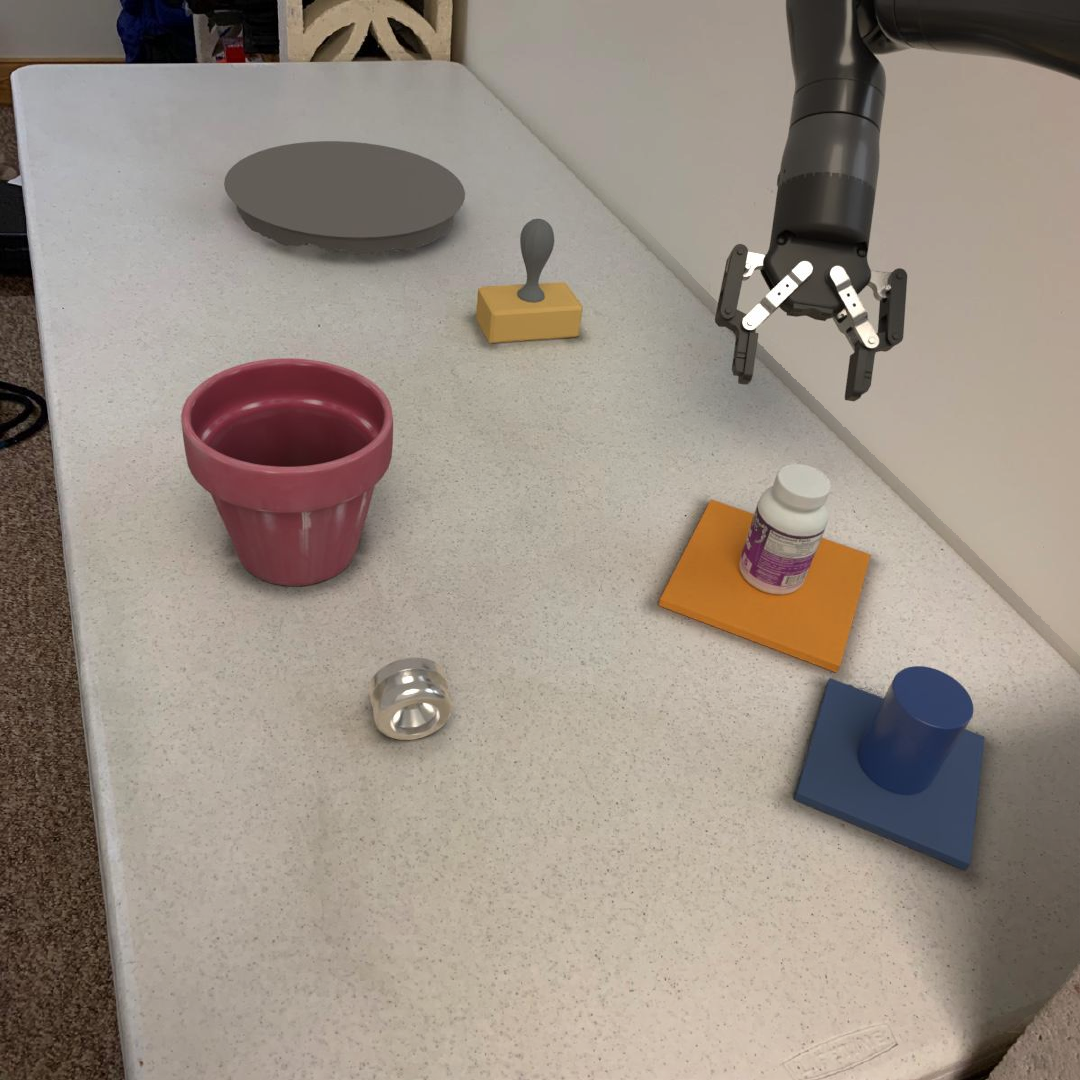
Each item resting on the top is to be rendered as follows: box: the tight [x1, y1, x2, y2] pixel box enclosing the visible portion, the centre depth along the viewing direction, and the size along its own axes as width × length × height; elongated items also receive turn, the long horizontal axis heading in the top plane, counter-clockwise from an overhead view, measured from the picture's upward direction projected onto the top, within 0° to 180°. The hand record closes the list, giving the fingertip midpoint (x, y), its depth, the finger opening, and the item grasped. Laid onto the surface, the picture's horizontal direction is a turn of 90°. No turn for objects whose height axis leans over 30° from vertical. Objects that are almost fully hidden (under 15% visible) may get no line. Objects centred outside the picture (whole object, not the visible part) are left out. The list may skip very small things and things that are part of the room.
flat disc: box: [223, 140, 466, 256], centre depth 119 cm, size 28×28×4 cm
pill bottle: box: [739, 463, 832, 595], centre depth 76 cm, size 5×5×10 cm
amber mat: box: [658, 499, 872, 673], centre depth 79 cm, size 14×14×1 cm
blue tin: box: [858, 665, 974, 795], centre depth 64 cm, size 5×5×7 cm
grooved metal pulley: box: [368, 657, 453, 741], centre depth 64 cm, size 5×3×5 cm, turn 105°
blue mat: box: [793, 677, 985, 871], centre depth 66 cm, size 11×11×1 cm
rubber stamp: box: [475, 218, 584, 344], centre depth 102 cm, size 10×6×12 cm, turn 108°
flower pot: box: [180, 357, 394, 587], centre depth 73 cm, size 14×14×13 cm
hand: (799, 390), depth 77 cm, fingers open, 8 cm apart
